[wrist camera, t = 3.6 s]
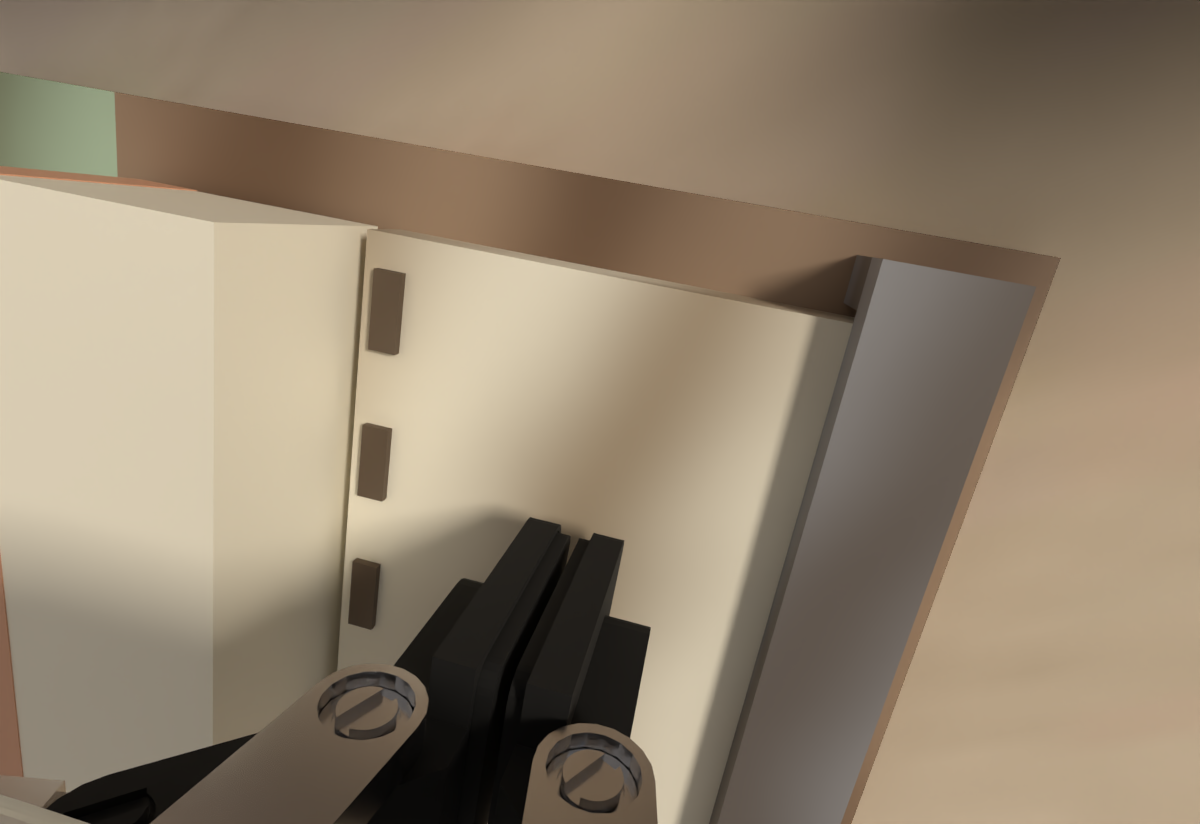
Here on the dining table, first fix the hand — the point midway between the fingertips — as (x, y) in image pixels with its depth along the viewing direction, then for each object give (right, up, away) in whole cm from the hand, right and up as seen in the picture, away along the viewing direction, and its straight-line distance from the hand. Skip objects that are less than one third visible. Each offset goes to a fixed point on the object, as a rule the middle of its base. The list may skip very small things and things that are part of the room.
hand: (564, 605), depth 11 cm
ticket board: (-6, +2, +4) cm, 7 cm away
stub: (-7, +2, +3) cm, 8 cm away
